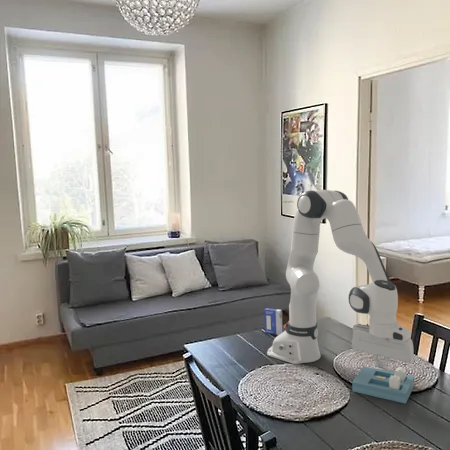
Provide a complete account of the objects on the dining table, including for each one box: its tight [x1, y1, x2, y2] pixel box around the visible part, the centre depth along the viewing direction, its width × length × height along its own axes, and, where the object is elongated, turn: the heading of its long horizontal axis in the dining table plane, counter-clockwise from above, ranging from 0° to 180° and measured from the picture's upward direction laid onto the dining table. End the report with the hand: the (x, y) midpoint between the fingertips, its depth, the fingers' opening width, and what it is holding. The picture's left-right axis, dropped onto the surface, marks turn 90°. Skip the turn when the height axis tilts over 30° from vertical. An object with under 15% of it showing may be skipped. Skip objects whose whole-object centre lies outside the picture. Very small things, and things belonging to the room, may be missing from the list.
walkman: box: [263, 307, 283, 336], centre depth 220 cm, size 8×3×12 cm, turn 64°
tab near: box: [389, 374, 400, 390], centre depth 158 cm, size 3×3×5 cm
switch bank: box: [351, 366, 415, 404], centre depth 164 cm, size 18×14×4 cm
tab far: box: [394, 366, 407, 382], centre depth 164 cm, size 3×3×5 cm
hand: (380, 367), depth 158 cm, fingers closed
